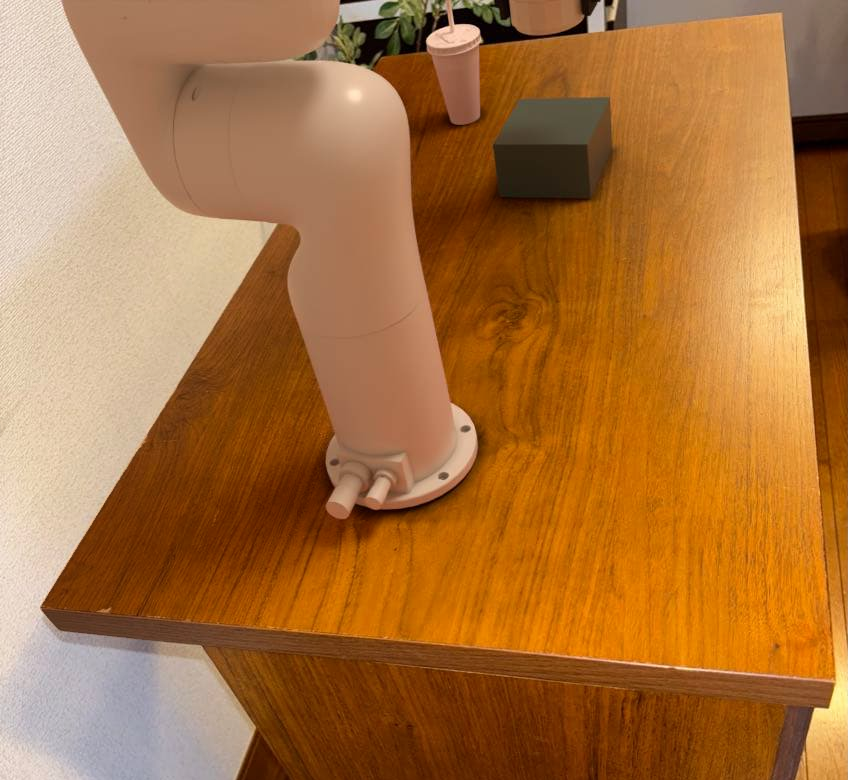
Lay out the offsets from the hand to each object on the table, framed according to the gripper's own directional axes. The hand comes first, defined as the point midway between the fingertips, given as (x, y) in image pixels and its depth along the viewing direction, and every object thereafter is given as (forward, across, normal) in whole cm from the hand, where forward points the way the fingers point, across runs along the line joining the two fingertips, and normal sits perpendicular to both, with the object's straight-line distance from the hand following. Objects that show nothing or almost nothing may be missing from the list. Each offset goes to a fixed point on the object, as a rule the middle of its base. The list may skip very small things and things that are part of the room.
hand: (548, 10), depth 92 cm
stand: (+18, -1, +2) cm, 18 cm away
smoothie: (+18, -16, +15) cm, 29 cm away
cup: (+1, 0, 0) cm, 1 cm away
